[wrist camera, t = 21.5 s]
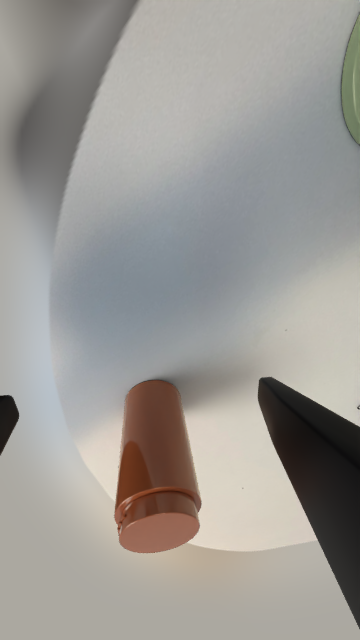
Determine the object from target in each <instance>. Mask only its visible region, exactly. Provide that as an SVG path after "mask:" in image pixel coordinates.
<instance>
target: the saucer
mask: <svg viewBox="0 0 360 640" xmlns="http://www.w3.org/2000/svg"><path fill="white" fill-rule="evenodd" d="M341 96H342V108H343V113H344V118H345V121H346V124H347V127H348V129H349V131H350V133H351V135H352V137H353V138H354V140H355V141H356V142H357V143H358V144H359V145H360V14H359V16H358V19H357V21H356V24H355V26H354V29H353V32H352V34H351V37H350V41H349V44H348V48H347V51H346V56H345V61H344V66H343V74H342V87H341Z"/></svg>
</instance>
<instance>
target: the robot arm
mask: <svg viewBox="0 0 360 640" xmlns="http://www.w3.org/2000/svg"><path fill="white" fill-rule="evenodd" d="M258 402H259V405H260V408H261V411H262V414H263V417H264V420H265V422H266V425H267V428H268V431H269V434H270V437H271V440H272V442H273V445H274V447H275V449H276V451H277V454H278V456H279V458H280V460H281V462H282V464H283V466H284V469H285V471H286V473H287V475H288V477H289V479H290V481H291V484H292V486H293V488H294V490H295V492H296V494H297V496H298V498H299V501H300V503H301V505H302V507H303V509H304V511H305V513H306V516H307V518H308V520H309V522H310V524H311V526H312V528H313V531H314V533H315V535H316V537H317V539H318V541H319V543H320V545H321V548H322V549H323V552H324V554H325V556H326V558H327V560H328V563H329V565H330V567H331V569H332V571H333V573H334V575H335V578H336V580H337V582H338V584H339V586H340V588H341V590H342V593H343V595H344V597H345V599H346V601H347V603H348V605H349V607H350V610H351V611H352V614H353V616H354V618H355V620H356V622H357V625H358V627H359V629H360V427H359V426H357V425H355V424H354V423H352V422H350V421H348V420H346V419H345V418H343V417H341V416H339V415H338V414H336V413H334V412H332V411H331V410H329V409H327V408H325V407H324V406H322V405H320V404H318V403H316V402H315V401H313V400H311V399H309V398H308V397H306V396H304V395H302V394H301V393H299V392H297V391H295V390H293V389H292V388H290V387H288V386H286V385H285V384H283V383H281V382H279V381H278V380H276V379H274V378H272V377H264V378H260V380H259V387H258ZM18 419H19V412H18V409H17V406H16V404H15V401H14V399H13V397H12V396H10V395H4V396H0V455H1V453H2V451H3V449H4V447H5V445H6V443H7V441H8V439H9V437H10V435H11V433H12V431H13V429H14V427H15V425H16V423H17V421H18Z"/></svg>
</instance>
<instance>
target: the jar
mask: <svg viewBox="0 0 360 640" xmlns="http://www.w3.org/2000/svg"><path fill="white" fill-rule="evenodd" d="M200 508H201V497H200V492H199V487H198V482H197V477H196V472H195V467H194V462H193V457H192V452H191V446H190V441H189V436H188V431H187V426H186V421H185V416H184V411H183V406H182V401H181V396H180V393H179V391H178V389H177V388H176V387H175V386H173V385H172V384H170V383H168V382H165V381H161V380H150V381H145V382H142V383H140V384H138V385H136V386H135V387H133V388H132V389H131V390H130V391H129V393H128V394H127V396H126V399H125V406H124V417H123V428H122V439H121V450H120V460H119V471H118V482H117V493H116V504H115V515H114V516H115V521H116V523H117V524H118V533H119V542H120V544H121V546H122V547H124V548H125V549H127V550H130V551H133V552H138V553H155V552H161V551H166V550H170V549H173V548H176V547H178V546H180V545H182V544H184V543H186V542H188V541H189V540H191V539H192V538H193V537H194V536H195V535H196V534H197V532H198V530H199V527H200V523H199V517H198V512H199V510H200Z"/></svg>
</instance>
